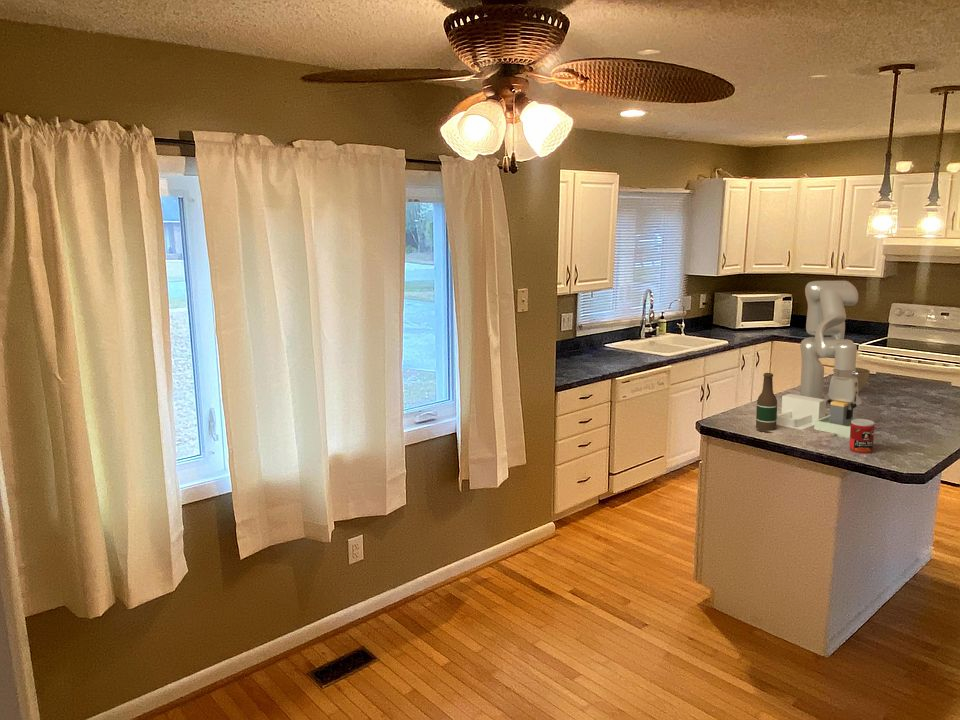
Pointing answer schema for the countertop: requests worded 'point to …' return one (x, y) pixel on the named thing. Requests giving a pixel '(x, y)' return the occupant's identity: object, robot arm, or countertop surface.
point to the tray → (832, 427)
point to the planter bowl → (862, 377)
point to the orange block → (839, 413)
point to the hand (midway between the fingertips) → (841, 417)
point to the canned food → (861, 436)
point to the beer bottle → (766, 407)
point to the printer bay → (800, 411)
